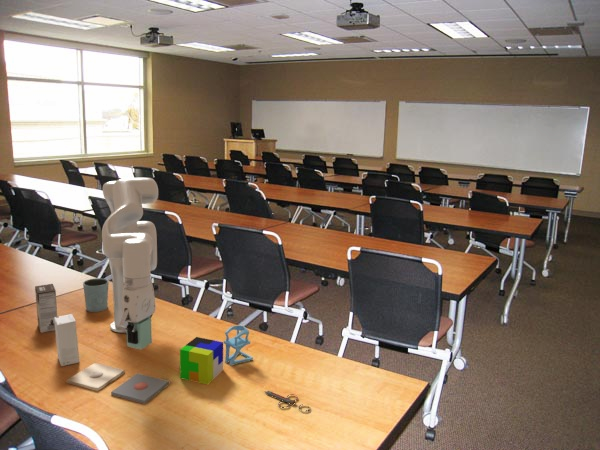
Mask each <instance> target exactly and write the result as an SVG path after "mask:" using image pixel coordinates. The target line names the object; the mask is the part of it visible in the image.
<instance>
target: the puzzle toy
mask: <svg viewBox="0 0 600 450" xmlns="http://www.w3.org/2000/svg"><path fill="white" fill-rule="evenodd" d="M179 371H180V372H179V373H180V374H179V375H180V376H179V377H180V379H182V380H186V381H192V382H196V383H200V384H204V385H209V384H210V383H211V382H212V381H214V379H216V377H218V375H220V374H221V372H222V371H224V341H219V340H214V339H208V338H204V337H199V336H196V337H195V338H193V339H191V340H190V341H189V342H188V343H186V344H185V345H184V346H183V347H181V348H179Z"/></svg>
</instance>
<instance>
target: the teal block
mask: <svg viewBox="0 0 600 450" xmlns="http://www.w3.org/2000/svg"><path fill="white" fill-rule="evenodd" d="M130 325H131V326H133V323H131V324H130ZM136 331H138V343H137V344H133V343H129V342H128V335H127V334H126V347H129V348H132V349H136V350H143V349H144V348H146V347H148V346H149V345H151V344H152V342H153V341H152V340H153V339H152V338H153V337H152V317H151V318H149V317H147V318H145V319H144V320H142V321H140V322H138V323H137V327H136ZM126 332H127V331H126Z"/></svg>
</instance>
